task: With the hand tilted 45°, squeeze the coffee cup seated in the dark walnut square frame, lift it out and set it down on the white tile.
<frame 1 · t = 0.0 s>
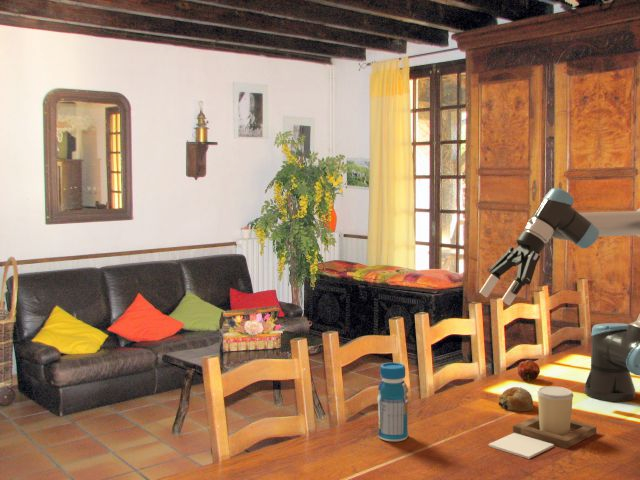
hand: (493, 298, 209), 36 cm above the table, tool tilted 35°, fingers open, 13 cm apart
coffee cup: (554, 434, 203), resting in square frame
beverage bottle: (392, 437, 201), on the table
square frame: (554, 433, 203), on the table
pomegranate: (528, 380, 254), on the table
bread roll: (515, 408, 225), on the table
white tile: (521, 446, 193), on the table
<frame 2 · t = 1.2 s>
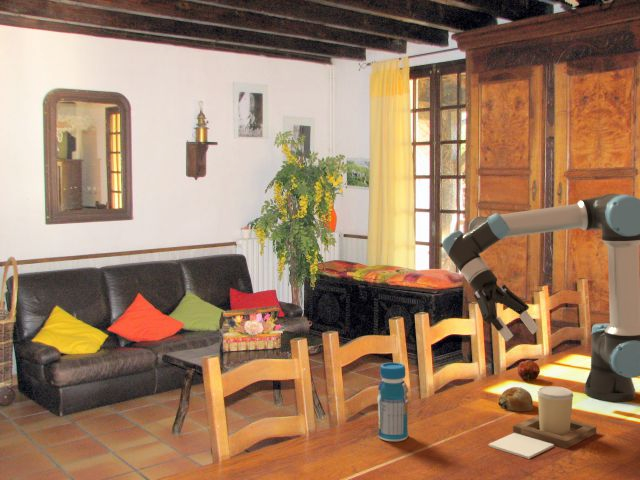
hand: (523, 335, 208), 26 cm above the table, tool tilted 45°, fingers open, 13 cm apart
nothing on the table moved.
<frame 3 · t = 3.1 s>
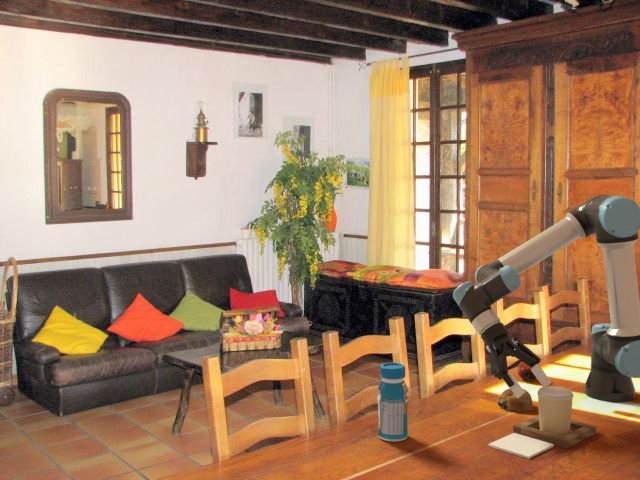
hand: (534, 390, 205), 11 cm above the table, tool tilted 45°, fingers open, 13 cm apart
nothing on the table moved.
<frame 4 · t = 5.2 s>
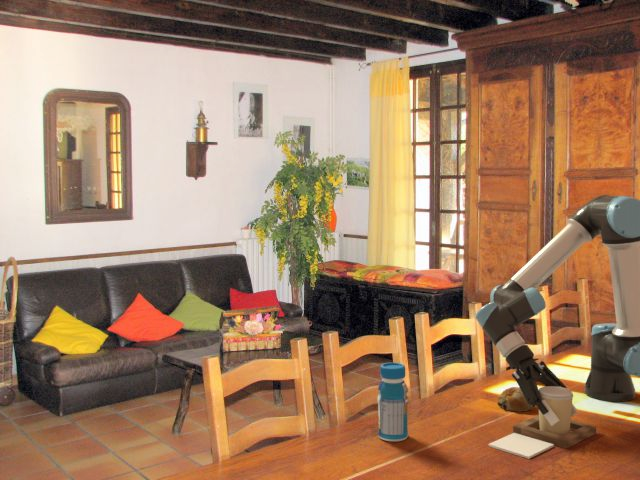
hand: (565, 418, 200), 5 cm above the table, tool tilted 45°, fingers closed on coffee cup, 9 cm apart
coffee cup: (554, 433, 203), resting in square frame, touching gripper
everything else where it was.
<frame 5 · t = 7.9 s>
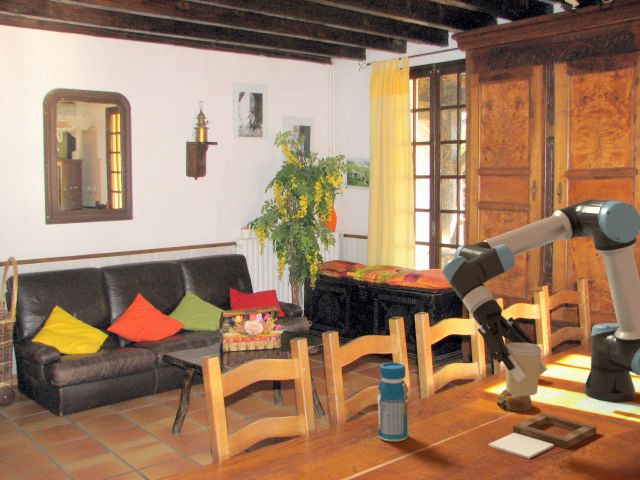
hand: (532, 375, 190), 19 cm above the table, tool tilted 45°, fingers closed on coffee cup, 9 cm apart
coffee cup: (521, 392, 193), point 14 cm above the table, touching gripper
everything else where it was.
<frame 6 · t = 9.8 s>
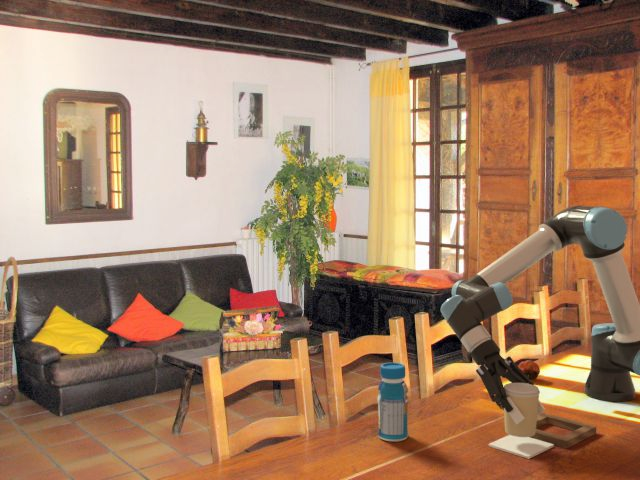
hand: (531, 417, 190), 9 cm above the table, tool tilted 45°, fingers closed on coffee cup, 9 cm apart
coffee cup: (520, 432, 193), point 4 cm above the table, touching gripper
everything else where it was.
when the fingers open (7 cm above the table, at t = 10.7 s): coffee cup drops 1 cm, resting on white tile.
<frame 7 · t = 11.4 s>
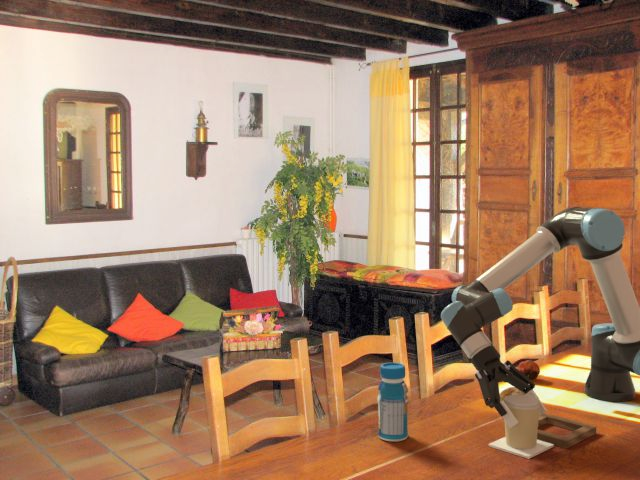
hand: (529, 419, 191), 8 cm above the table, tool tilted 45°, fingers open, 13 cm apart
coffee cup: (520, 444, 193), resting on white tile
everything else where it was.
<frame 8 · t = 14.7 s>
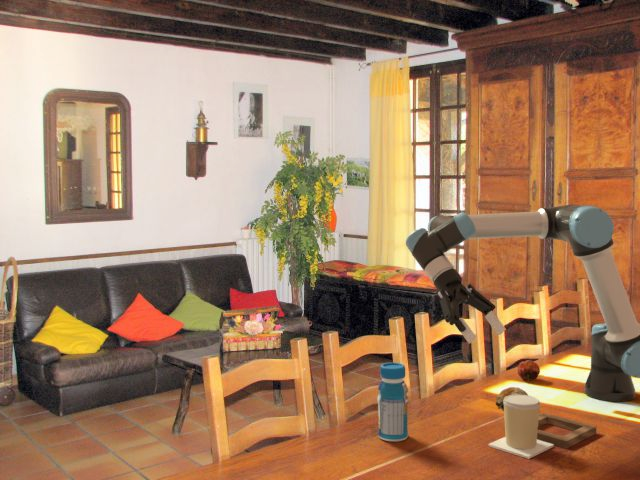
hand: (487, 336, 199), 28 cm above the table, tool tilted 45°, fingers open, 13 cm apart
nothing on the table moved.
at the end: coffee cup inside the target area on the white tile (0.1 cm from its centre), point 0.4 cm above the white tile's base; coffee cup tilted 0°; the gripper is holding nothing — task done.
